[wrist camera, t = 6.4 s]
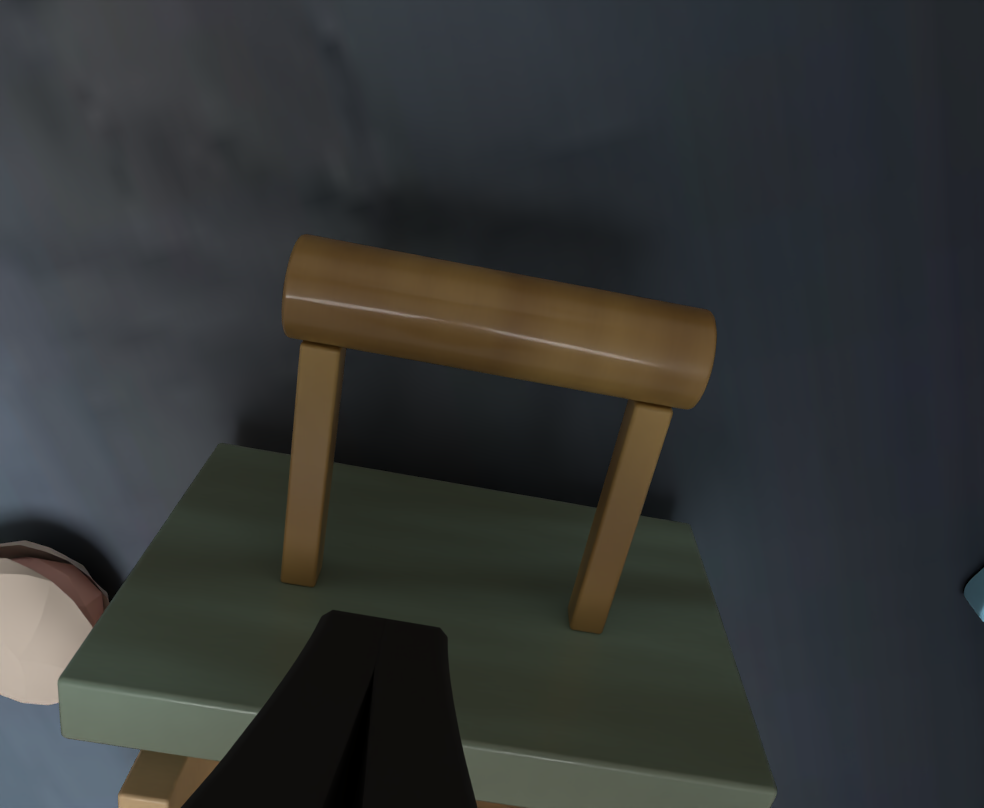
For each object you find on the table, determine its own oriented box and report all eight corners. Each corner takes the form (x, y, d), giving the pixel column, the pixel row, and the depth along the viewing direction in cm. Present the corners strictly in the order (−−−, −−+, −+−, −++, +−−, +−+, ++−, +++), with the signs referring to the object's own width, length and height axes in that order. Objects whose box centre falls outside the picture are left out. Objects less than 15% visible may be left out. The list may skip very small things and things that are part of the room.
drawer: (229, 157, 15) (20, 267, 8) (783, 264, 15) (962, 440, 9) (204, 821, 23) (89, 1120, 17) (565, 873, 23) (581, 1182, 17)
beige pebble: (158, 642, 21) (115, 719, 19) (-14, 671, 22) (-75, 748, 19) (85, 507, 19) (27, 574, 17) (-100, 542, 20) (-180, 612, 18)
